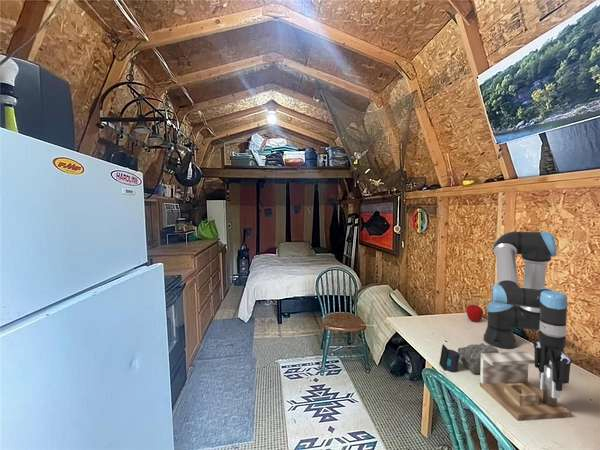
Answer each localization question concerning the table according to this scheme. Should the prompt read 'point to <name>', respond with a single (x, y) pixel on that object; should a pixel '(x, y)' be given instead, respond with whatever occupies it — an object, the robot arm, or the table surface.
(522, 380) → the socket board
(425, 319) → the table surface
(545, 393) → the peg
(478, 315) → the apple
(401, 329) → the table surface
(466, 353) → the rock
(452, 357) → the speaker
